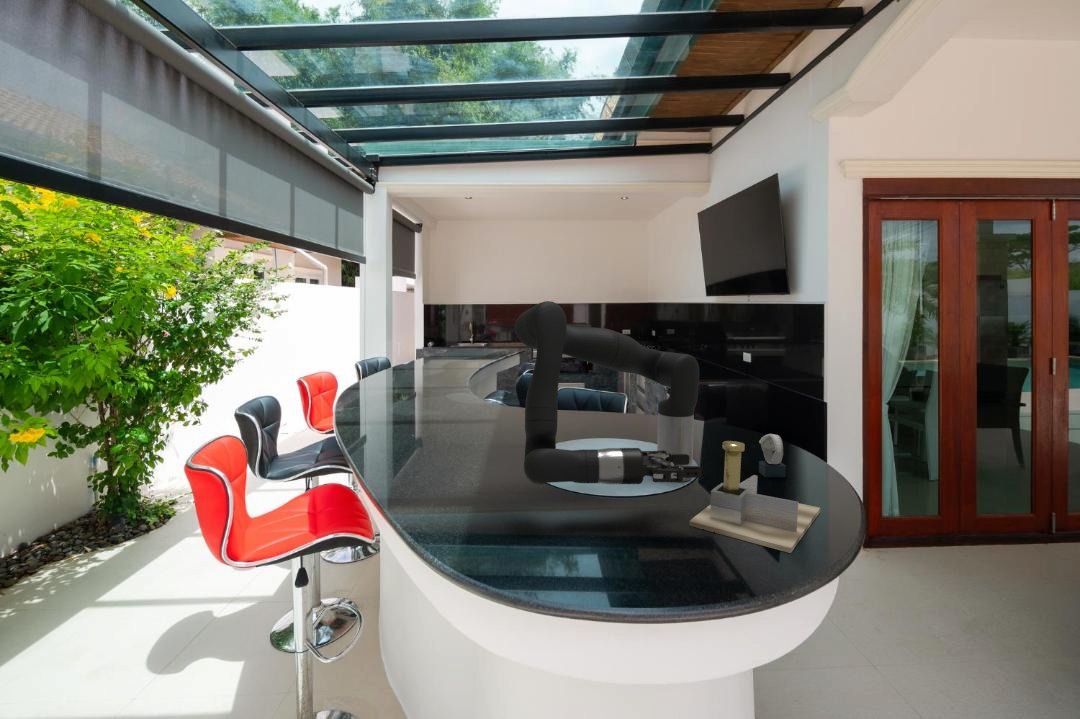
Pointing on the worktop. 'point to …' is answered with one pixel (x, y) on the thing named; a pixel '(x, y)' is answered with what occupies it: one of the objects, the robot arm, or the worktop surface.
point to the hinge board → (760, 529)
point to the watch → (772, 457)
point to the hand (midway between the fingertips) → (694, 465)
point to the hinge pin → (732, 466)
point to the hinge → (753, 507)
